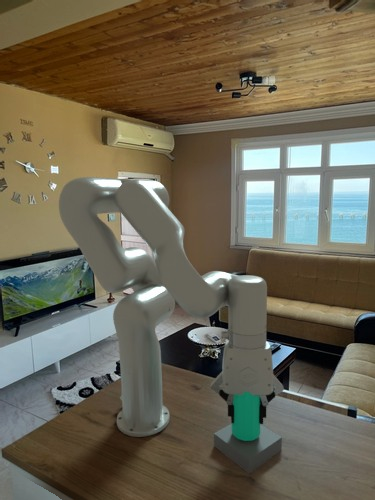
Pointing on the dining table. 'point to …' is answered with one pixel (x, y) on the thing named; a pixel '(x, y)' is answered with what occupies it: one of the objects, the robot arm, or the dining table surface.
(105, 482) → the dining table surface
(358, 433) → the dining table surface
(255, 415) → the candle
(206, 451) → the dining table surface
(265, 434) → the plinth
